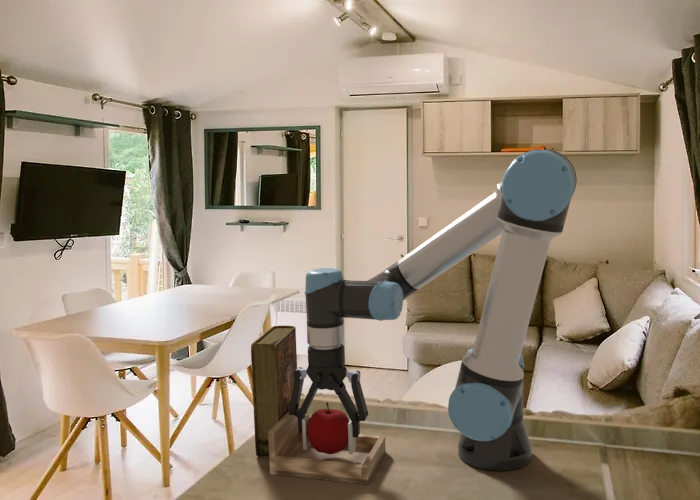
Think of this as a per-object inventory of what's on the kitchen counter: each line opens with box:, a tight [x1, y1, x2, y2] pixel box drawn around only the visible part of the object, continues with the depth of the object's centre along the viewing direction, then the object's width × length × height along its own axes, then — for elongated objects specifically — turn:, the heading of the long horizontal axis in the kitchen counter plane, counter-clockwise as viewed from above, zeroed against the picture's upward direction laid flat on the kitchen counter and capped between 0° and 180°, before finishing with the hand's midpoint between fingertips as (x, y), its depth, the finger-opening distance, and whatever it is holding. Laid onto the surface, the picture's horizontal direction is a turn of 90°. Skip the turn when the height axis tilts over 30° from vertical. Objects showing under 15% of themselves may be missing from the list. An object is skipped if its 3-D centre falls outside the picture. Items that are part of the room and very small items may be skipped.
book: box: [250, 325, 298, 457], centre depth 155 cm, size 16×6×25 cm, turn 169°
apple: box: [307, 402, 350, 454], centre depth 145 cm, size 9×9×10 cm
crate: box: [268, 404, 387, 486], centre depth 145 cm, size 20×15×9 cm
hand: (329, 449), depth 145 cm, fingers closed on apple, 9 cm apart
